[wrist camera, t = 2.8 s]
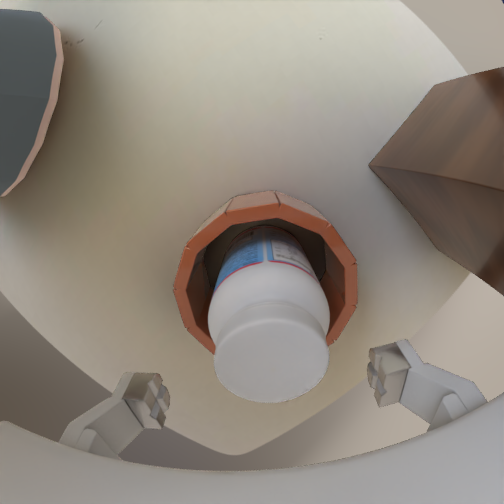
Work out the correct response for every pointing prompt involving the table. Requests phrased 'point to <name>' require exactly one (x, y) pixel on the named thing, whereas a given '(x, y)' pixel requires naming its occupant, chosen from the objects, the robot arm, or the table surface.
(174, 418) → the table surface
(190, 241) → the desk pot
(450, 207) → the riser
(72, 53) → the table surface
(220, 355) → the pill bottle
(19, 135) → the desk lamp
